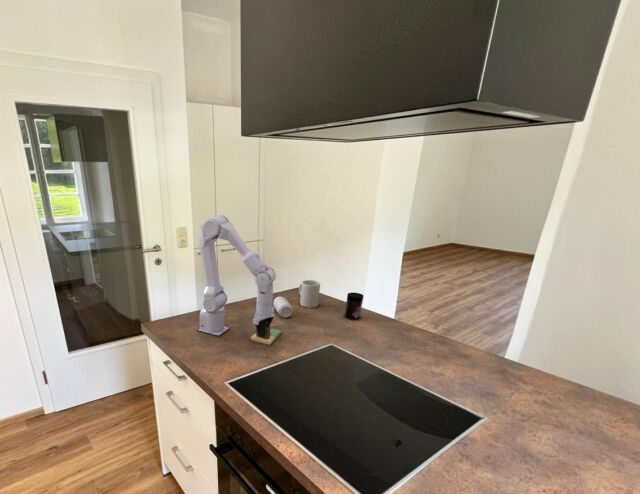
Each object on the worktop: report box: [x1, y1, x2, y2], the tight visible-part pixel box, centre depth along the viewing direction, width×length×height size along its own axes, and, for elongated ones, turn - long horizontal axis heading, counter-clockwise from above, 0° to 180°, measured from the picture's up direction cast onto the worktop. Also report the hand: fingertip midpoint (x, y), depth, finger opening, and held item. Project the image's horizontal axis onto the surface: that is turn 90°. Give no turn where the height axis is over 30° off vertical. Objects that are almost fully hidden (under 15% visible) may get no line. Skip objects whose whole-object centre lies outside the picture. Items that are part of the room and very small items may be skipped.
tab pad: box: [250, 327, 276, 346], centre depth 137 cm, size 8×8×5 cm
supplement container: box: [344, 292, 364, 321], centre depth 157 cm, size 7×7×10 cm
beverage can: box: [272, 295, 294, 319], centre depth 160 cm, size 6×6×12 cm
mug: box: [298, 279, 321, 309], centre depth 171 cm, size 12×8×11 cm
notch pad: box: [269, 327, 282, 340], centre depth 141 cm, size 8×6×1 cm
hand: (262, 335), depth 136 cm, fingers closed
